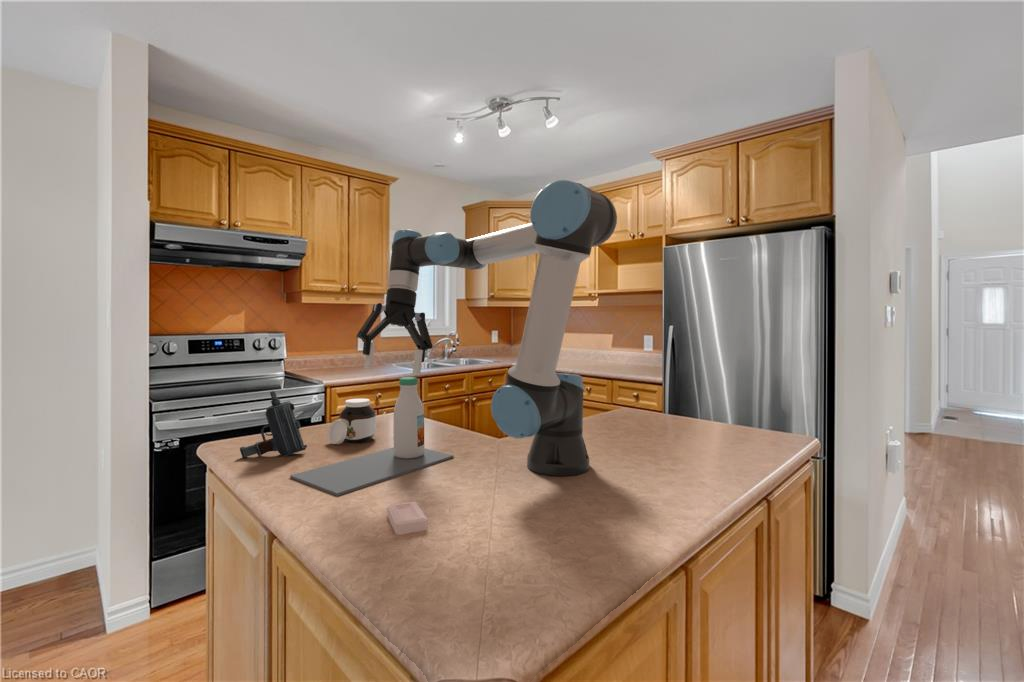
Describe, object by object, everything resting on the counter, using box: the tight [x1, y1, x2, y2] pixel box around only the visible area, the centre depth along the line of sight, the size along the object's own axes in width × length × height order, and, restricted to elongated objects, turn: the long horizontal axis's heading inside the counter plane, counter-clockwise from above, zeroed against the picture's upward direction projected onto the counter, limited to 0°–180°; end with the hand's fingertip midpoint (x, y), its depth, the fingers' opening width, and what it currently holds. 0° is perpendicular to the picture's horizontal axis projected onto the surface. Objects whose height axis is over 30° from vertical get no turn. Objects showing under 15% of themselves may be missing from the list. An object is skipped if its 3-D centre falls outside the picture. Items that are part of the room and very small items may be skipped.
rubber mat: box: [289, 446, 455, 497], centre depth 120 cm, size 34×18×1 cm, turn 143°
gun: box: [239, 390, 308, 459], centre depth 128 cm, size 3×17×15 cm
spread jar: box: [327, 398, 378, 445], centre depth 144 cm, size 12×11×12 cm
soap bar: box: [386, 501, 428, 536], centre depth 89 cm, size 5×9×2 cm, turn 24°
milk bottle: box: [393, 376, 425, 459], centre depth 128 cm, size 8×8×20 cm
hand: (392, 372), depth 126 cm, fingers open, 13 cm apart
